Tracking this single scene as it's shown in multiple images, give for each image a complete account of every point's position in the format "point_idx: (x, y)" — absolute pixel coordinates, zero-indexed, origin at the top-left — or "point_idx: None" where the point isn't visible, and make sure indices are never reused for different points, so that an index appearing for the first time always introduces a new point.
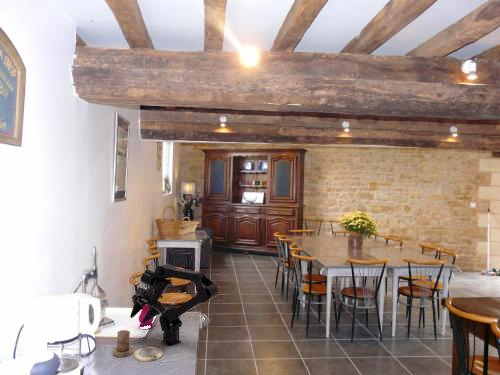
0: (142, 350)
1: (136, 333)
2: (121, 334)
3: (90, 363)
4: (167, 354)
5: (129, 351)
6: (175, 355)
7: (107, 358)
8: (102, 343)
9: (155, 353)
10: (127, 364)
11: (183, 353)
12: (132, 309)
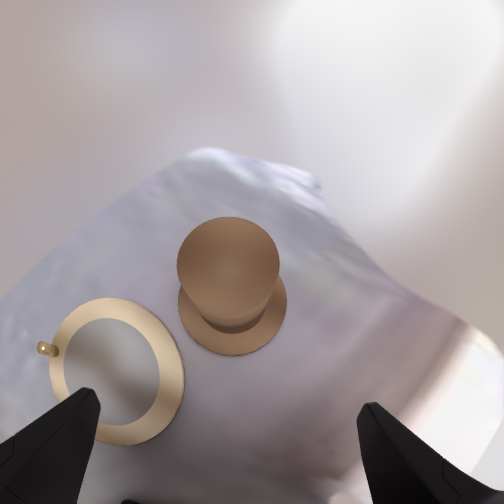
0: (150, 372)
1: None
2: (202, 226)
3: (251, 167)
4: None
5: (186, 310)
6: None
7: None
8: (408, 299)
9: (39, 344)
10: (120, 248)
11: None
12: (441, 458)
